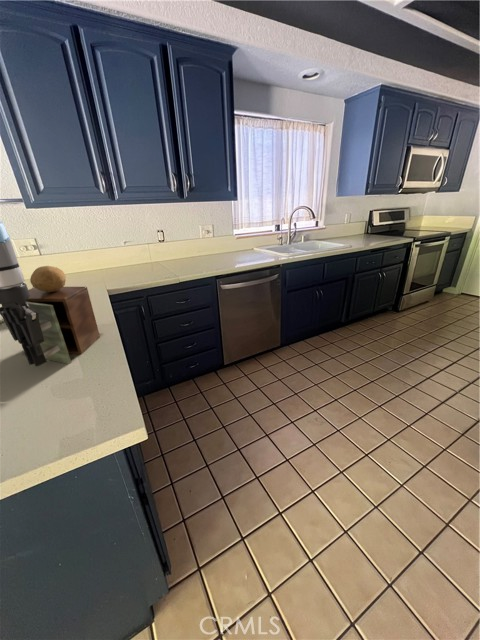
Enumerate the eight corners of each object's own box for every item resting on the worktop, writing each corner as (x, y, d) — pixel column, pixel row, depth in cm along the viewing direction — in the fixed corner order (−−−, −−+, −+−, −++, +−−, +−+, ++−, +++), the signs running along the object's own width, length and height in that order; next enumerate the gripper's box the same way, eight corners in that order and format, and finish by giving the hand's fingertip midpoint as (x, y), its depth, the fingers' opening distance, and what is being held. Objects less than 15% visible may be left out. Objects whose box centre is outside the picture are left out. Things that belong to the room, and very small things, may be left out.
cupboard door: (48, 376, 78) (25, 315, 69) (4, 366, 82) (-22, 308, 74) (71, 362, 85) (52, 305, 76) (29, 353, 89) (7, 299, 81)
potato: (64, 283, 95) (58, 261, 92) (73, 292, 86) (66, 268, 82) (31, 289, 89) (23, 265, 86) (37, 299, 80) (28, 274, 76)
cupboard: (81, 354, 89) (65, 298, 81) (30, 353, 90) (7, 298, 81) (100, 337, 100) (86, 286, 91) (53, 336, 101) (36, 286, 92)
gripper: (-29, 286, 66) (7, 364, 76) (9, 293, 61) (42, 376, 71) (5, 278, 72) (34, 351, 82) (41, 284, 67) (68, 361, 77)
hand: (38, 362), depth 77 cm, fingers closed on cupboard door, 2 cm apart
